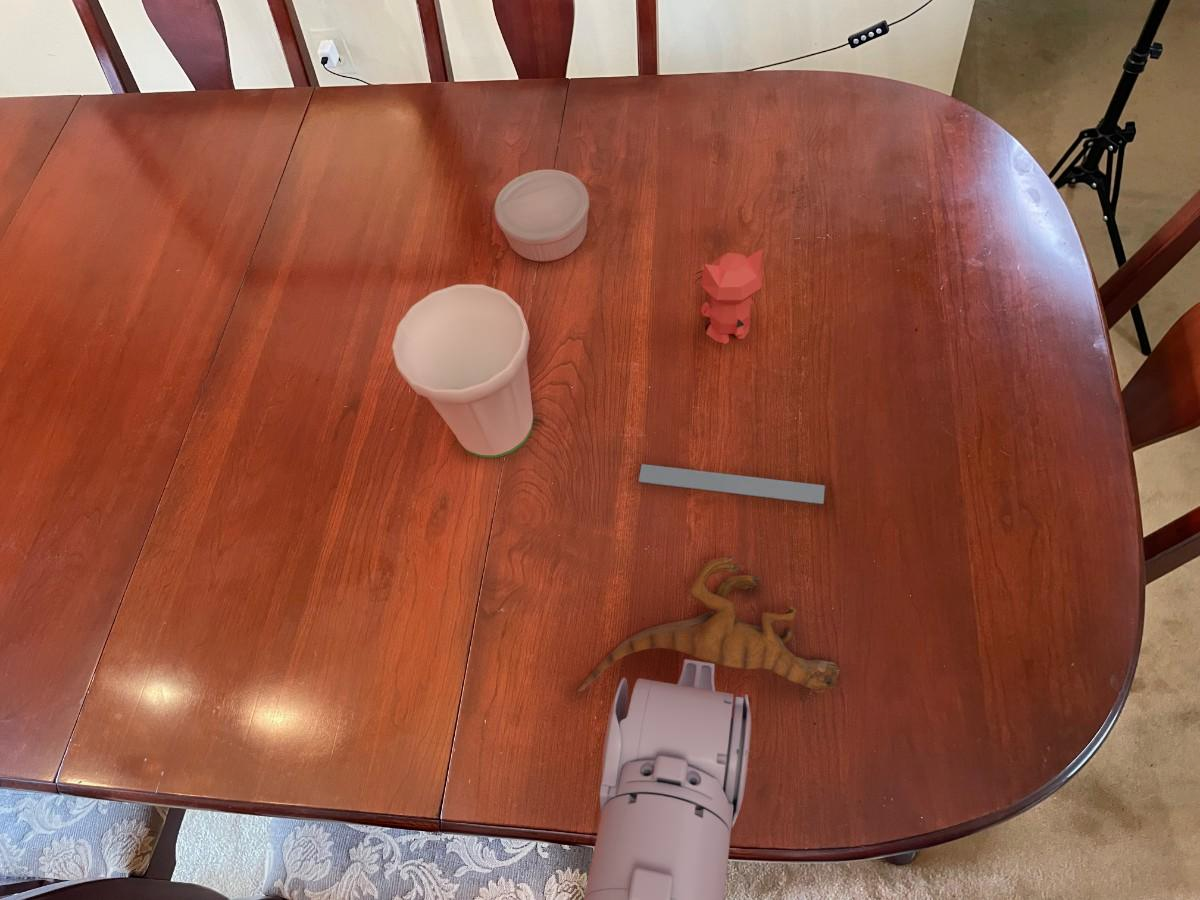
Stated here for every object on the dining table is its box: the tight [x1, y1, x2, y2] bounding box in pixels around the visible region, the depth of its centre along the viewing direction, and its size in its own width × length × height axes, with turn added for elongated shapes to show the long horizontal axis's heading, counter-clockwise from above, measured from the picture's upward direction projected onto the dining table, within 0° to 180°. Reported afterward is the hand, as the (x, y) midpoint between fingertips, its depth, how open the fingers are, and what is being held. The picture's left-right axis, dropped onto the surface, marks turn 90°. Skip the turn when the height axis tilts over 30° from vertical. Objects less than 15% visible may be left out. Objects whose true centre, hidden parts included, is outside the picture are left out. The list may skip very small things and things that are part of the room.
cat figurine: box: [692, 247, 764, 345], centre depth 87 cm, size 7×7×12 cm
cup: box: [391, 283, 535, 459], centre depth 83 cm, size 12×12×15 cm
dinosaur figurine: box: [577, 556, 840, 694], centre depth 73 cm, size 7×22×12 cm
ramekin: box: [493, 169, 590, 262], centre depth 100 cm, size 11×11×5 cm
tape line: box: [637, 463, 826, 505], centre depth 83 cm, size 2×18×1 cm, turn 79°
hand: (687, 792), depth 60 cm, fingers closed
